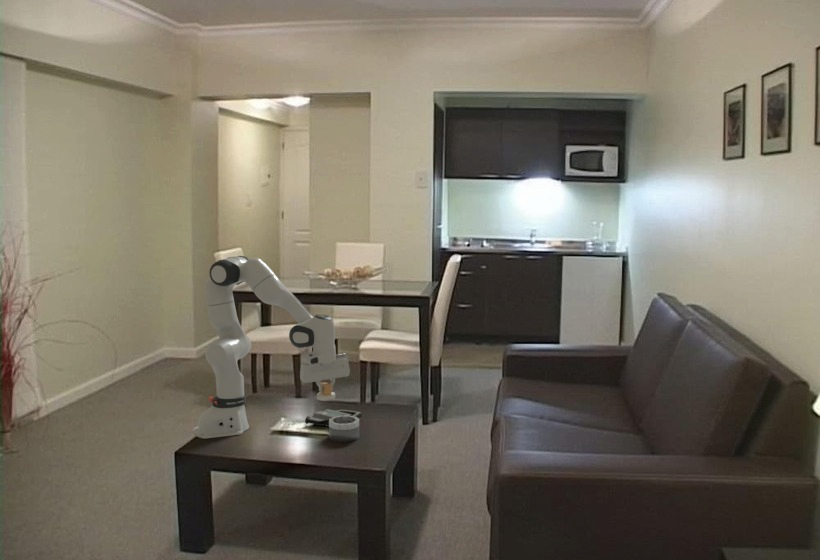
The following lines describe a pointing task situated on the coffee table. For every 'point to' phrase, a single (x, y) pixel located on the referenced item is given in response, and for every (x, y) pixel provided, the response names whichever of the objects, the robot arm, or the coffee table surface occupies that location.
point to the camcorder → (329, 416)
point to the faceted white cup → (344, 428)
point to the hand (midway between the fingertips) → (325, 390)
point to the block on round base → (326, 392)
